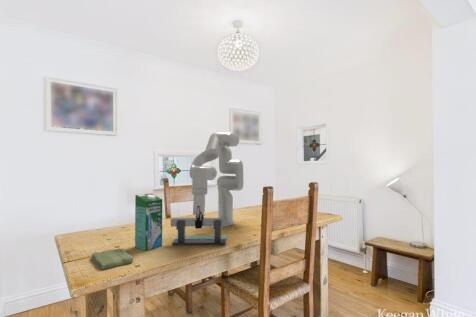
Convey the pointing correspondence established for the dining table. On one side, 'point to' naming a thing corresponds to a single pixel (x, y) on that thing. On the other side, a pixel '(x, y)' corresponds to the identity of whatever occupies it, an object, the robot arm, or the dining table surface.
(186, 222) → the rail
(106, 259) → the washcloth
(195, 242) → the rack
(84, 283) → the dining table surface
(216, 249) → the dining table surface
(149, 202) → the milk carton
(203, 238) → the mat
